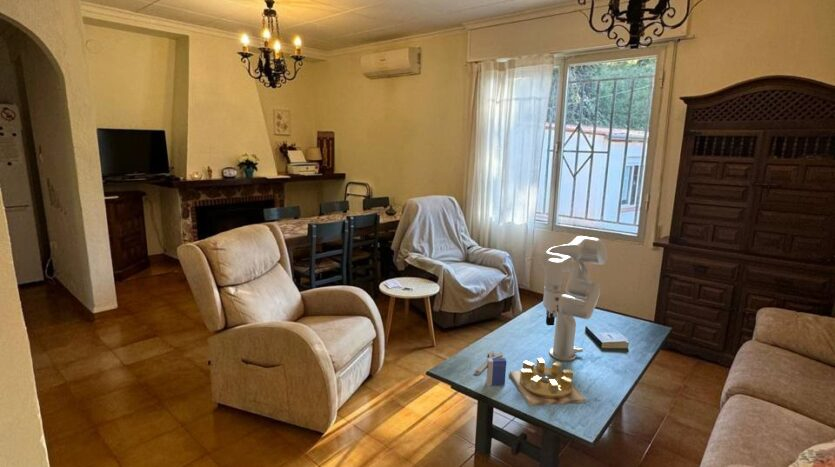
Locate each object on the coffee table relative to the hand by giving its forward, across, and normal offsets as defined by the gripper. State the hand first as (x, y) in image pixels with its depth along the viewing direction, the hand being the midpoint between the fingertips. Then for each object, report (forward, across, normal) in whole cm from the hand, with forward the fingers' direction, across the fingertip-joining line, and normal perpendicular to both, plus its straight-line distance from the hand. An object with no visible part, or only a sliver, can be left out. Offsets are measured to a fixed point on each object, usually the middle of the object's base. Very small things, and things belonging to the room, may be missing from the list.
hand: (549, 324), depth 197 cm
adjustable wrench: (+24, +10, +26) cm, 37 cm away
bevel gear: (+22, -12, +5) cm, 26 cm away
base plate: (+24, -12, +5) cm, 27 cm away
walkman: (+23, -8, +26) cm, 36 cm away
